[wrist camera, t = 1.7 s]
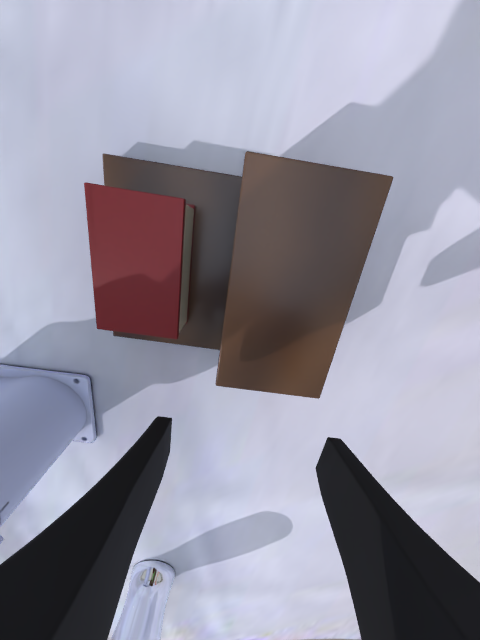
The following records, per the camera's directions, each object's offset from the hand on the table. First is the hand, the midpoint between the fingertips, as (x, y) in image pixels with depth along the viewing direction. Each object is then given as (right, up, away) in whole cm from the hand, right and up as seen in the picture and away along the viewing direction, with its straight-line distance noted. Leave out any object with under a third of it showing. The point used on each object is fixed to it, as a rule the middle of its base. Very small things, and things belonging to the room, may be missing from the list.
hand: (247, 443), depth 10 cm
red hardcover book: (-6, +10, +5) cm, 13 cm away
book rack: (-2, +10, +7) cm, 12 cm away
